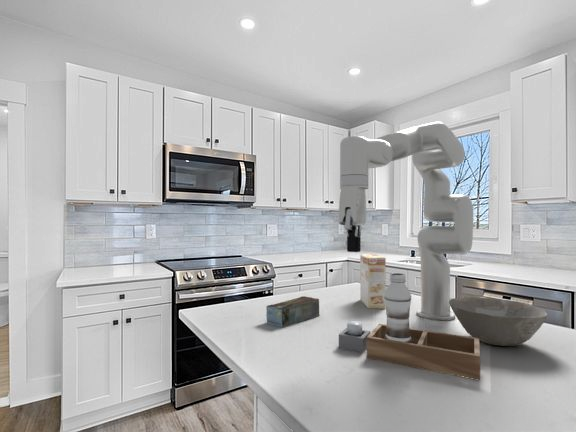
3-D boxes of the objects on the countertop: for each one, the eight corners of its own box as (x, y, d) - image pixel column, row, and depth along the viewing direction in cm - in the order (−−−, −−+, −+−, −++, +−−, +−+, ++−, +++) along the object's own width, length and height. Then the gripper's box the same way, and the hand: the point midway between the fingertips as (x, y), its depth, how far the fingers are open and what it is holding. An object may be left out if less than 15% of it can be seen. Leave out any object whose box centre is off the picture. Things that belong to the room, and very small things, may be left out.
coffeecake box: (386, 308, 128) (386, 257, 128) (367, 308, 128) (367, 257, 129) (376, 299, 143) (376, 253, 143) (359, 299, 143) (359, 253, 143)
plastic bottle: (414, 360, 80) (414, 276, 81) (385, 358, 82) (384, 275, 82) (410, 350, 87) (409, 272, 87) (383, 348, 88) (382, 271, 88)
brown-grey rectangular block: (265, 323, 110) (265, 303, 110) (303, 312, 124) (303, 294, 124) (282, 328, 105) (282, 307, 105) (320, 316, 119) (320, 297, 119)
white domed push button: (349, 329, 93) (349, 320, 93) (364, 331, 91) (364, 322, 91) (345, 333, 89) (345, 324, 89) (359, 336, 87) (359, 326, 87)
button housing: (346, 340, 94) (346, 327, 94) (370, 344, 91) (370, 331, 91) (338, 347, 88) (338, 334, 89) (363, 352, 85) (363, 338, 85)
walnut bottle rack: (379, 341, 93) (379, 323, 93) (479, 359, 81) (478, 338, 81) (366, 357, 82) (366, 337, 82) (480, 380, 70) (479, 356, 70)
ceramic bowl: (553, 365, 78) (552, 322, 78) (444, 346, 90) (443, 308, 90) (542, 337, 96) (541, 302, 96) (453, 324, 109) (453, 293, 109)
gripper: (349, 186, 99) (349, 249, 98) (330, 181, 86) (330, 253, 85) (375, 185, 95) (374, 250, 95) (359, 179, 82) (359, 254, 82)
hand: (353, 251), depth 90 cm, fingers closed
